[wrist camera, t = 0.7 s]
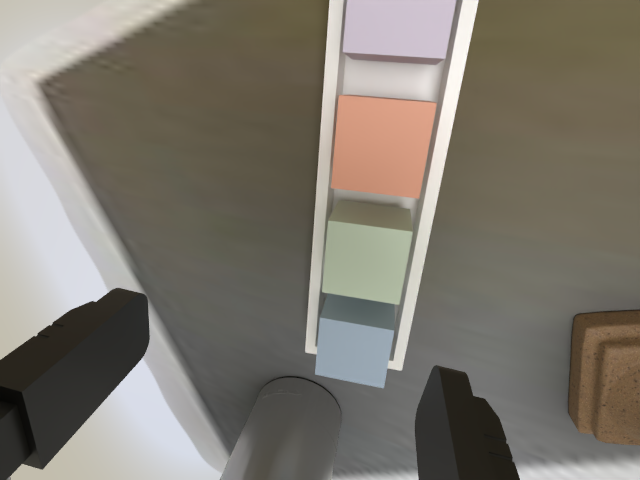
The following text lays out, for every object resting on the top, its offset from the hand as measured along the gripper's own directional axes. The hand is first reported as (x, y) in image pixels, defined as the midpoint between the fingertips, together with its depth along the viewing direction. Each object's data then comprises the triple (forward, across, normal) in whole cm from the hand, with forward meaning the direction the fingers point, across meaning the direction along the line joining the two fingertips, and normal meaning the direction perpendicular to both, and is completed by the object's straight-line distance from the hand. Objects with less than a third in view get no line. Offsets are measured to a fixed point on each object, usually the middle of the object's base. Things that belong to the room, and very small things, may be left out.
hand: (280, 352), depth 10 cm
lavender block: (+17, -1, -11) cm, 20 cm away
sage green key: (+17, -2, +3) cm, 17 cm away
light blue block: (+17, -3, +10) cm, 20 cm away
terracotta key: (+17, -2, -4) cm, 18 cm away
